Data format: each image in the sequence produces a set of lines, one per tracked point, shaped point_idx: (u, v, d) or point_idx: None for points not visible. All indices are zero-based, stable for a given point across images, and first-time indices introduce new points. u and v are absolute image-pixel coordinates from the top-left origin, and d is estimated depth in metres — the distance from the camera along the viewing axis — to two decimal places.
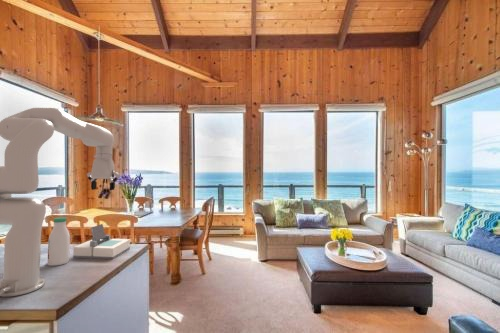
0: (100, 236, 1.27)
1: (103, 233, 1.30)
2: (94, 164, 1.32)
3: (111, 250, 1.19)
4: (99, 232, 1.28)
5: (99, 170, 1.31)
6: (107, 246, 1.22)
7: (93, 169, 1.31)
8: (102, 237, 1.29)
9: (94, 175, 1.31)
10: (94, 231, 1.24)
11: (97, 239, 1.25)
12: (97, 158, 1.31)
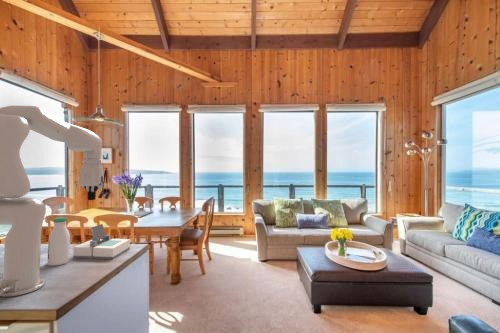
0: (100, 236, 1.27)
1: (103, 233, 1.30)
2: (81, 170, 1.22)
3: (111, 250, 1.19)
4: (99, 232, 1.28)
5: (87, 176, 1.22)
6: (107, 246, 1.22)
7: (80, 175, 1.22)
8: (102, 237, 1.29)
9: (82, 182, 1.22)
10: (94, 231, 1.24)
11: (97, 239, 1.25)
12: (84, 164, 1.21)
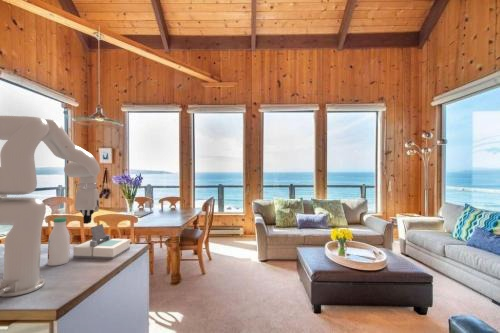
0: (100, 236, 1.27)
1: (103, 233, 1.30)
2: (77, 194, 1.26)
3: (111, 250, 1.19)
4: (99, 232, 1.28)
5: (83, 201, 1.25)
6: (107, 246, 1.22)
7: (76, 200, 1.26)
8: (102, 237, 1.29)
9: (78, 206, 1.26)
10: (94, 231, 1.24)
11: (97, 239, 1.25)
12: (80, 188, 1.25)
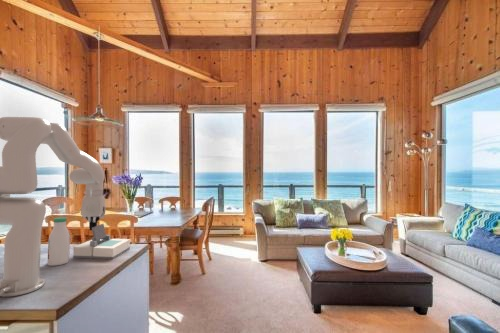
0: (100, 236, 1.27)
1: (103, 233, 1.30)
2: (84, 201, 1.25)
3: (111, 250, 1.19)
4: (100, 232, 1.28)
5: (89, 207, 1.25)
6: (107, 246, 1.22)
7: (83, 206, 1.25)
8: (102, 237, 1.29)
9: (84, 213, 1.25)
10: (95, 231, 1.24)
11: (97, 239, 1.25)
12: (87, 195, 1.25)
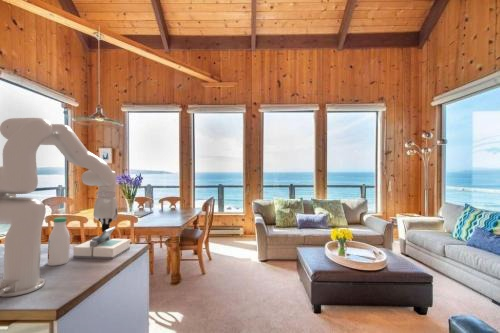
0: (104, 238, 1.27)
1: (108, 235, 1.30)
2: (96, 203, 1.25)
3: (111, 250, 1.19)
4: (106, 235, 1.27)
5: (102, 209, 1.25)
6: (107, 246, 1.22)
7: (95, 208, 1.25)
8: (104, 238, 1.29)
9: (96, 215, 1.25)
10: (104, 234, 1.24)
11: (99, 240, 1.25)
12: (100, 197, 1.24)
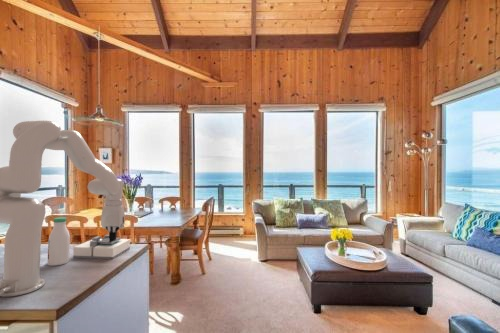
0: None
1: None
2: (104, 211, 1.25)
3: (111, 250, 1.19)
4: None
5: (109, 218, 1.25)
6: (107, 246, 1.22)
7: (103, 217, 1.25)
8: None
9: (104, 223, 1.25)
10: None
11: None
12: (107, 205, 1.24)
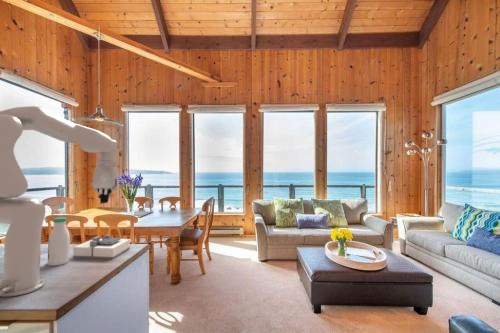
0: None
1: None
2: (96, 172, 1.20)
3: (111, 250, 1.19)
4: None
5: (101, 179, 1.20)
6: (107, 246, 1.22)
7: (94, 177, 1.20)
8: None
9: (95, 184, 1.20)
10: None
11: None
12: (99, 165, 1.19)
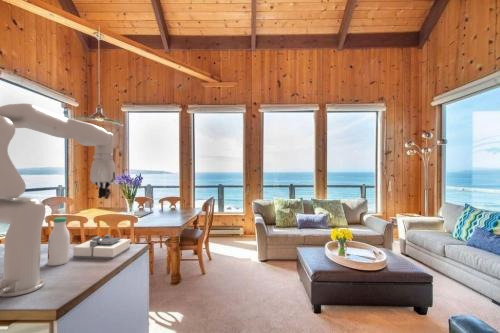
0: None
1: None
2: (93, 166, 1.19)
3: (111, 250, 1.19)
4: None
5: (99, 172, 1.18)
6: (107, 246, 1.22)
7: (92, 171, 1.18)
8: None
9: (93, 178, 1.18)
10: None
11: None
12: (96, 159, 1.18)
